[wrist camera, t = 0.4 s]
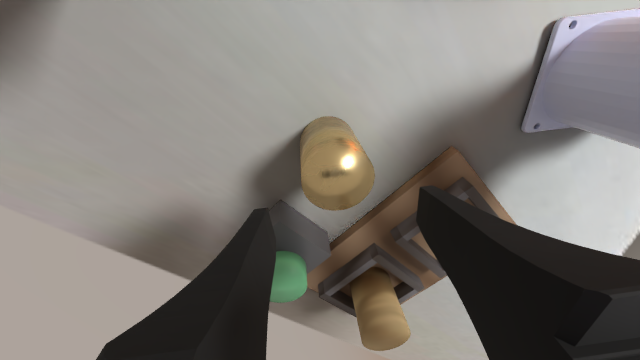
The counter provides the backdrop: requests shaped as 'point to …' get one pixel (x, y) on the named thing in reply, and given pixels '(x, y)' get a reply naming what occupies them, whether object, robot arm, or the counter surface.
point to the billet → (334, 165)
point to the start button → (288, 277)
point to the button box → (299, 235)
